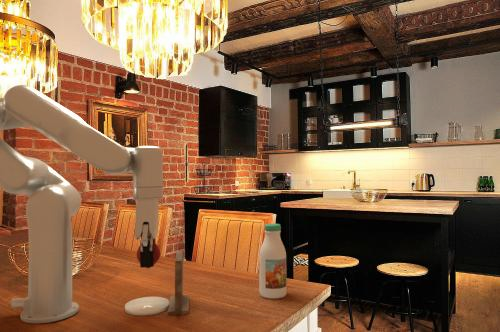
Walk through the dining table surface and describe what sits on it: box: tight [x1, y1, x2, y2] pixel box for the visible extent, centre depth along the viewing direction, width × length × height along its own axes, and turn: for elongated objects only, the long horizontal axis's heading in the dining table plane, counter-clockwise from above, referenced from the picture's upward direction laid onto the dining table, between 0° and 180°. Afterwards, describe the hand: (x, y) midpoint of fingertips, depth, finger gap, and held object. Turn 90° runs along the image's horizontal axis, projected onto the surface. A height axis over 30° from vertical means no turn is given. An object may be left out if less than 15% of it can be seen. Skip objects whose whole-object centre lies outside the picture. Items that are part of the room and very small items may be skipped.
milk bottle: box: [258, 223, 287, 300], centre depth 106 cm, size 8×8×20 cm
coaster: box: [124, 296, 170, 317], centre depth 96 cm, size 11×11×1 cm
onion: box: [136, 237, 161, 269], centre depth 96 cm, size 6×6×8 cm
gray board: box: [167, 250, 190, 316], centre depth 97 cm, size 5×12×13 cm, turn 9°
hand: (148, 263), depth 96 cm, fingers closed on onion, 5 cm apart
